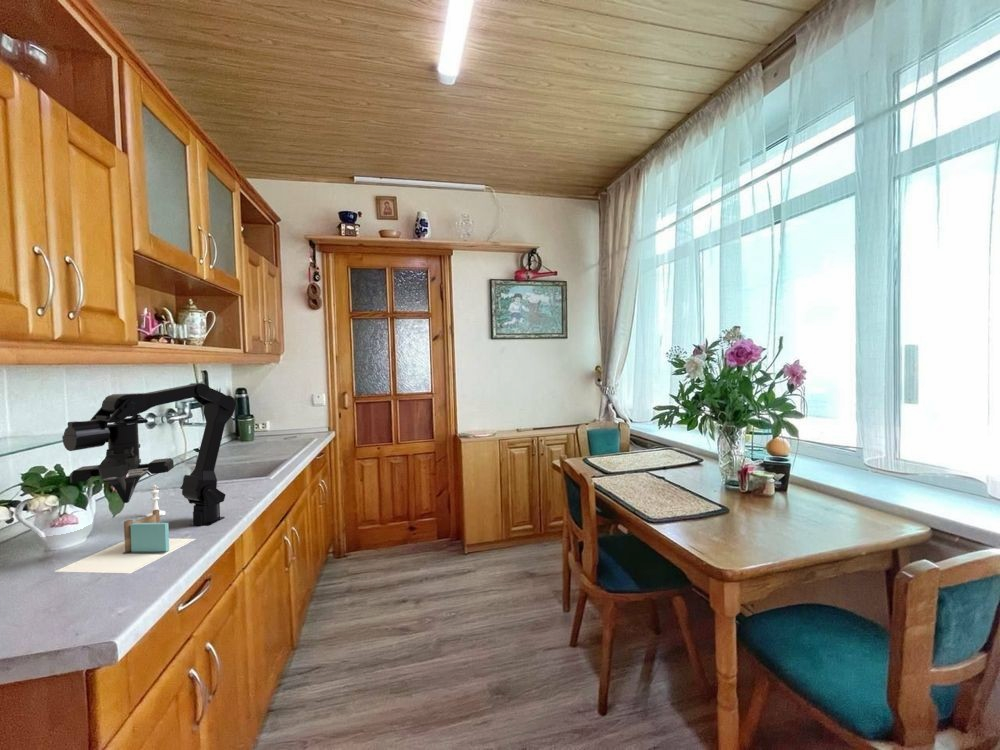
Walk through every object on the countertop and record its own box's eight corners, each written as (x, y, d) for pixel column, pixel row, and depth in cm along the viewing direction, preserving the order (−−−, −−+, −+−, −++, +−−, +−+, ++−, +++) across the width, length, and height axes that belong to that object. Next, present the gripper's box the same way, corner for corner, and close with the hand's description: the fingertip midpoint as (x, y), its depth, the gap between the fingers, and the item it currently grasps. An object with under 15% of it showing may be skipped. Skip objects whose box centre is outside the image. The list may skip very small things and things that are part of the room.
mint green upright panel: (131, 551, 101) (130, 524, 100) (135, 549, 102) (134, 522, 101) (165, 551, 100) (165, 524, 100) (169, 549, 101) (168, 522, 101)
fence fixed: (156, 537, 109) (155, 509, 109) (162, 537, 109) (160, 509, 109) (123, 553, 100) (122, 522, 100) (129, 553, 100) (128, 522, 100)
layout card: (131, 539, 110) (131, 537, 110) (196, 540, 108) (195, 538, 108) (54, 573, 92) (54, 571, 92) (130, 575, 90) (130, 572, 90)
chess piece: (149, 514, 129) (148, 483, 128) (168, 511, 130) (167, 482, 130) (142, 519, 124) (141, 488, 124) (161, 517, 126) (160, 486, 126)
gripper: (55, 453, 90) (59, 520, 90) (159, 444, 98) (162, 506, 99) (80, 444, 100) (83, 505, 100) (173, 437, 108) (175, 493, 109)
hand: (126, 502), depth 102 cm, fingers closed
